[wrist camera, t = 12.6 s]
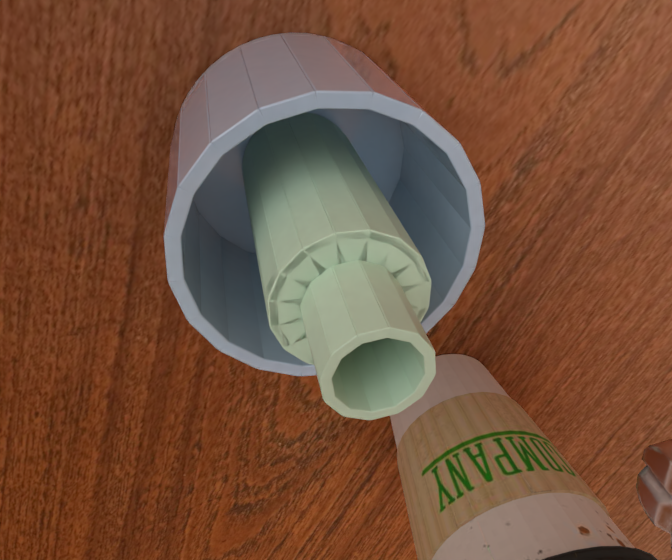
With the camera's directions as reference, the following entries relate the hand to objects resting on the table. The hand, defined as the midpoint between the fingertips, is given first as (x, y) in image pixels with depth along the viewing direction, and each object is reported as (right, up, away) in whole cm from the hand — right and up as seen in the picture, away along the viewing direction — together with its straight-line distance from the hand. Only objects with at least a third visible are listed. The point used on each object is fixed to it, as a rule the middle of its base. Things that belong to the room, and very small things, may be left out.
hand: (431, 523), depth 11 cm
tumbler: (-3, +9, +15) cm, 18 cm away
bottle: (-3, +9, +14) cm, 17 cm away
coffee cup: (+4, -2, +24) cm, 25 cm away
